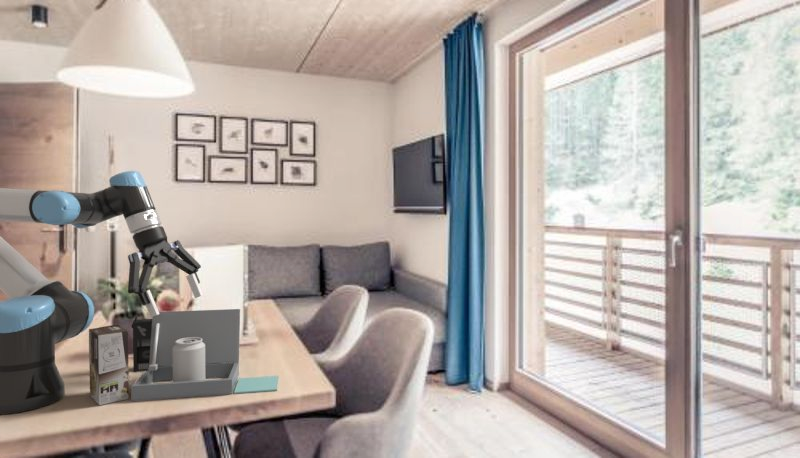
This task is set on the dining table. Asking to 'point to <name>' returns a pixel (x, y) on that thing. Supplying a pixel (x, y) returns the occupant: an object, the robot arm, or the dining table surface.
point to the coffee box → (108, 364)
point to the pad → (256, 384)
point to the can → (188, 359)
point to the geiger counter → (141, 343)
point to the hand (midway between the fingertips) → (178, 305)
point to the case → (219, 349)
